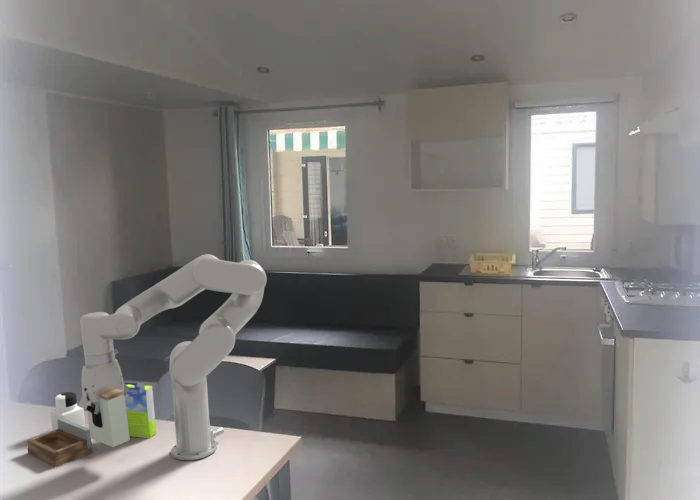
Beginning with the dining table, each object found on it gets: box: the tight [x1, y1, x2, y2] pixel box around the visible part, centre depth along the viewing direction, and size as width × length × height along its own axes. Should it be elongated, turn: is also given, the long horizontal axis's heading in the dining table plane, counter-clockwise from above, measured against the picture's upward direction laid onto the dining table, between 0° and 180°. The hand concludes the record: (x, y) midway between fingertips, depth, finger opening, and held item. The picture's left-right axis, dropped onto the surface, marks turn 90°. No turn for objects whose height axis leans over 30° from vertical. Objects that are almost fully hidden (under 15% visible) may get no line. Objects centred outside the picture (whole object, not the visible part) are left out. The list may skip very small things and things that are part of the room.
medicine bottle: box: [50, 391, 86, 431], centre depth 192 cm, size 7×7×12 cm
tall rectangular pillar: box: [86, 389, 131, 448], centre depth 167 cm, size 5×11×14 cm, turn 53°
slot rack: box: [26, 418, 93, 468], centre depth 177 cm, size 11×16×7 cm
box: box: [123, 381, 157, 439], centre depth 187 cm, size 10×4×17 cm, turn 74°
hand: (107, 421), depth 168 cm, fingers closed on tall rectangular pillar, 5 cm apart
